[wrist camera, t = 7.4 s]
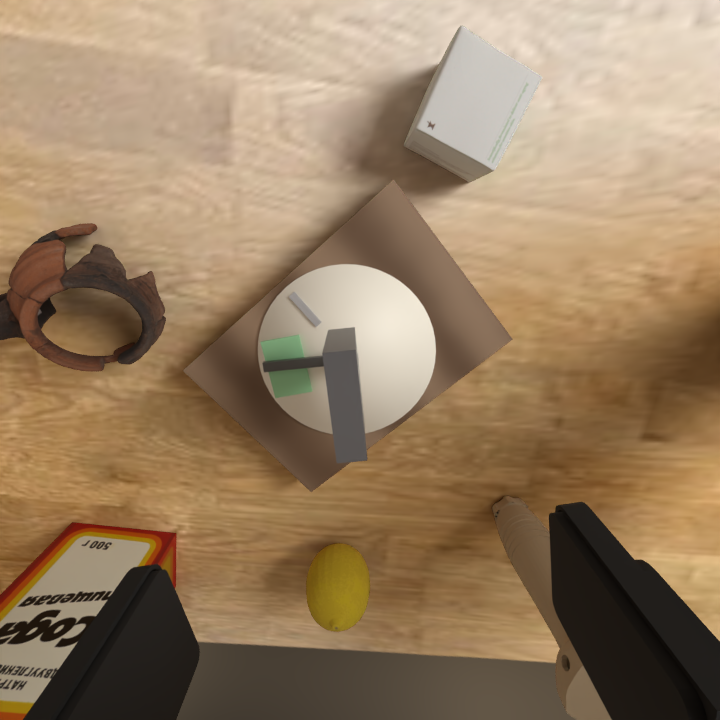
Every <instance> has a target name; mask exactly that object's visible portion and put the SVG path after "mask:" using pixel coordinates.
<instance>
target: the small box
mask: <svg viewBox="0 0 720 720" xmlns="http://www.w3.org/2000/svg"><path fill="white" fill-rule="evenodd" d="M541 79H542V77H541V76H540V75H539V74H537V73H536V72H534V71H532V70H531V69H529V68H528V67H526V66H525V65H523V64H522V63H520V62H518V61H517V60H515V59H513V58H512V57H510V56H508V55H507V54H505V53H503V52H502V51H500V50H498V49H497V48H495V47H494V46H492V45H491V44H489V43H488V42H487V41H485V40H484V39H482V38H481V37H479V36H478V35H476V34H474V33H473V32H471V31H470V30H469V29H467V28H466V27H464V26H460V27H459V28H458V30H457V32H456V34H455V35H454V37H453V39H452V41H451V42H450V44H449V46H448V48H447V50H446V52H445V54H444V56H443V58H442V60H441V62H440V64H439V65H438V67H437V69H436V71H435V73H434V75H433V77H432V80H431V82H430V84H429V86H428V88H427V90H426V93H425V95H424V97H423V99H422V102H421V104H420V106H419V109H418V111H417V113H416V116H415V118H414V120H413V123H412V125H411V128H410V130H409V133H408V135H407V137H406V140H405V142H404V147H406V148H408V149H410V150H412V151H414V152H415V153H417V154H419V155H421V156H423V157H425V158H426V159H428V160H430V161H432V162H434V163H435V164H437V165H439V166H441V167H443V168H445V169H446V170H448V171H450V172H452V173H454V174H455V175H457V176H459V177H461V178H463V179H464V180H466V181H468V182H472V181H474V180H476V179H478V178H480V177H482V176H484V175H486V174H488V173H490V172H492V171H494V170H495V169H496V168H497V166H498V164H499V162H500V160H501V158H502V156H503V154H504V152H505V151H506V149H507V147H508V145H509V143H510V141H511V139H512V137H513V135H514V133H515V131H516V129H517V127H518V125H519V123H520V121H521V119H522V117H523V115H524V113H525V111H526V109H527V107H528V105H529V103H530V101H531V99H532V97H533V95H534V93H535V91H536V89H537V87H538V85H539V83H540V81H541Z"/></svg>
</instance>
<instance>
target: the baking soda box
mask: <svg viewBox="0 0 720 720" xmlns="http://www.w3.org/2000/svg"><path fill="white" fill-rule="evenodd" d="M152 564H158V565H160V566H161V568H162V570H163V569H165V570H166V571H167V572H168V574H169V577H170V579H171V581H172V584H173V586H174V588H175V587H176V533H170V532H160V531H150V530H141V529H131V528H122V527H112V526H102V525H93V524H83V523H73V522H72V523H71V524H70V525H69V526H68V527H67V528H66V529H65V530H64V531H63V532H62V533H61V534H60V535H59V536H58V537H57V538H56V539H55V540H54V541H53V542H52V543H51V544H50V545H49V546H48V547H47V548H46V549H45V550H44V551H43V553H42V554H41V555H40V556H39V557H38V558H37V559H36V560H35V561H34V562H33V563H32V564H31V565H30V566H29V567H28V568H27V569H26V570H25V571H24V572H23V573H22V574H21V575H20V576H19V577H18V578H17V579H16V580H15V581H14V582H13V583H12V584H11V585H10V586H9V587H8V588H7V589H6V590H5V591H4V592H3V593H2V594H1V595H0V720H23V718H24V717H25V716H26V714H27V713H28V711H29V710H30V709H31V707H32V706H33V704H34V703H35V702H36V700H37V699H38V697H39V696H40V694H41V693H42V692H43V690H44V689H45V687H46V686H47V685H48V683H49V682H50V680H51V679H52V678H53V676H54V675H55V673H56V672H57V671H58V669H59V668H60V666H61V665H62V663H63V662H64V661H65V659H66V658H67V656H68V655H69V654H70V652H71V651H72V649H73V648H74V647H75V645H76V644H77V642H78V641H79V639H80V638H81V637H82V635H83V634H84V632H85V631H86V630H87V628H88V627H89V625H90V624H91V623H92V621H93V620H94V618H95V617H96V616H97V614H98V613H99V611H100V610H101V608H102V607H103V606H104V604H105V603H106V601H107V600H108V599H109V597H110V596H111V594H112V593H113V592H114V590H115V589H116V587H117V586H118V584H119V583H120V582H121V580H122V579H123V577H124V576H125V575H126V573H127V572H128V571H129V570H130V569H131V568H133V567H139V566H146V565H152Z"/></svg>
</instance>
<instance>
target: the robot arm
mask: <svg viewBox="0 0 720 720" xmlns="http://www.w3.org/2000/svg"><path fill="white" fill-rule="evenodd" d="M549 530H550V556H551V582H552V601H553V606H554V609H555V612H556V614H557V616H558V619H559V620H560V622H561V624H562V626H563V628H564V630H565V632H566V634H567V636H568V638H569V640H570V641H571V643H572V645H573V647H574V649H575V651H576V653H577V655H578V657H579V659H580V660H581V662H582V664H583V666H584V668H585V670H586V672H587V674H588V676H589V678H590V679H591V681H592V683H593V685H594V687H595V689H596V691H597V693H598V695H599V697H600V699H601V700H602V702H603V704H604V706H605V708H606V710H607V712H608V714H609V716H610V718H611V719H612V720H720V641H719V640H718V639H717V638H716V637H715V636H714V635H713V634H712V633H711V631H710V630H709V629H708V628H707V627H706V626H705V625H704V624H703V623H702V621H701V620H700V619H699V618H698V617H697V616H696V615H695V614H694V613H693V611H692V610H691V609H690V608H689V607H688V606H687V605H686V604H685V603H684V601H683V600H682V599H681V598H680V597H679V596H678V595H677V594H676V593H675V591H674V590H673V589H672V588H671V587H670V586H669V585H668V584H667V582H666V581H665V580H664V579H663V578H662V577H661V576H660V575H659V574H658V572H657V571H656V570H655V569H654V568H653V567H652V566H650V565H649V564H648V563H647V562H645V561H643V560H634V559H633V558H632V557H631V555H630V554H629V553H628V552H627V551H626V550H625V548H624V547H623V546H622V545H621V544H620V543H619V541H618V540H617V539H616V538H615V537H614V536H613V534H612V533H611V532H610V531H609V530H608V529H607V528H606V526H605V525H604V524H603V523H602V522H601V521H600V519H599V518H598V517H597V516H596V515H595V514H594V512H593V511H592V510H591V509H590V508H589V507H588V506H587V505H586V504H585V503H584V502H577V503H570V504H563V505H558V506H556V510H555V513H550V515H549ZM198 660H199V645H198V643H197V640H196V638H195V636H194V633H193V631H192V628H191V626H190V624H189V621H188V619H187V617H186V614H185V612H184V610H183V607H182V605H181V603H180V600H179V598H178V595H177V593H176V591H175V588H174V586H173V584H172V581H171V579H170V577H169V574H168V572H167V571H166V570H165V569H163V570H162V568H161V566H160V565H158V564H152V565H146V566H139V567H133V568H131V569H130V570H129V571H128V572H127V573H126V575H125V576H124V577H123V579H122V580H121V582H120V583H119V584H118V586H117V587H116V589H115V590H114V592H113V593H112V594H111V596H110V597H109V599H108V600H107V601H106V603H105V604H104V606H103V607H102V608H101V610H100V611H99V613H98V614H97V616H96V617H95V618H94V620H93V621H92V623H91V624H90V625H89V627H88V628H87V630H86V631H85V632H84V634H83V635H82V637H81V638H80V639H79V641H78V642H77V644H76V645H75V647H74V648H73V649H72V651H71V652H70V654H69V655H68V656H67V658H66V659H65V661H64V662H63V663H62V665H61V666H60V668H59V669H58V671H57V672H56V673H55V675H54V676H53V678H52V679H51V680H50V682H49V683H48V685H47V686H46V687H45V689H44V690H43V692H42V693H41V694H40V696H39V697H38V699H37V700H36V702H35V703H34V704H33V706H32V707H31V709H30V710H29V711H28V713H27V714H26V716H25V717H24V718H23V720H176V718H177V716H178V713H179V710H180V708H181V705H182V703H183V700H184V698H185V695H186V693H187V690H188V687H189V685H190V682H191V680H192V677H193V675H194V672H195V669H196V667H197V664H198Z"/></svg>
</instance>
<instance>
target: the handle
mask: <svg viewBox="0 0 720 720" xmlns="http://www.w3.org/2000/svg"><path fill="white" fill-rule="evenodd" d="M492 511H493V514H494V516H495V523H496V525H497V528H498V532H499V535H500V538H501V540H502V543H503V545H504V548H505V550H506V552H507V555H508V557H509V559H510V561H511V563H512V565H513V567H514V569H515V570H516V572H517V574H518V576H519V577H520V579H521V581H522V582H523V584H524V586H525V587H526V589H527V591H528V592H529V594H530V596H531V597H532V599H533V601H534V603H535V604H536V606H537V608H538V609H539V611H540V613H541V615H542V616H543V618H544V620H545V622H546V623H547V625H548V627H549V629H550V630H551V632H552V634H553V636H554V637H555V639H556V641H557V644H558V646H559V648H560V650H559V652H558V655H557V660H556V685H557V691H558V694H559V696H560V699H561V701H562V703H563V706H564V708H565V710H566V712H567V713H568V714H569V715H570V716H572V717H573V718H575V719H577V720H612V719H611V718H610V716H609V714H608V712H607V710H606V708H605V706H604V704H603V702H602V700H601V699H600V697H599V695H598V693H597V691H596V689H595V687H594V685H593V683H592V681H591V679H590V678H589V676H588V674H587V672H586V670H585V668H584V666H583V664H582V662H581V660H580V659H579V657H578V655H577V653H576V651H575V649H574V647H573V645H572V643H571V641H570V640H569V638H568V636H567V634H566V632H565V630H564V628H563V626H562V624H561V622H560V620H559V619H558V616H557V614H556V612H555V609H554V606H553V601H552V582H551V556H550V532H549V531H548V530H547V529H546V527H545V526H544V525H543V524H542V522H541V521H540V520H539V519H538V518H537V517H536V516H535V515H534V513H532V512H531V511H530V510H529V509H528V506H527V505H526V503H525V502H524V501H523V500H522V499H520V498H512V497H510V496H504V498H503V499H502V500H501V501H499V502H497V503H495V504H494V505H493V507H492Z"/></svg>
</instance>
